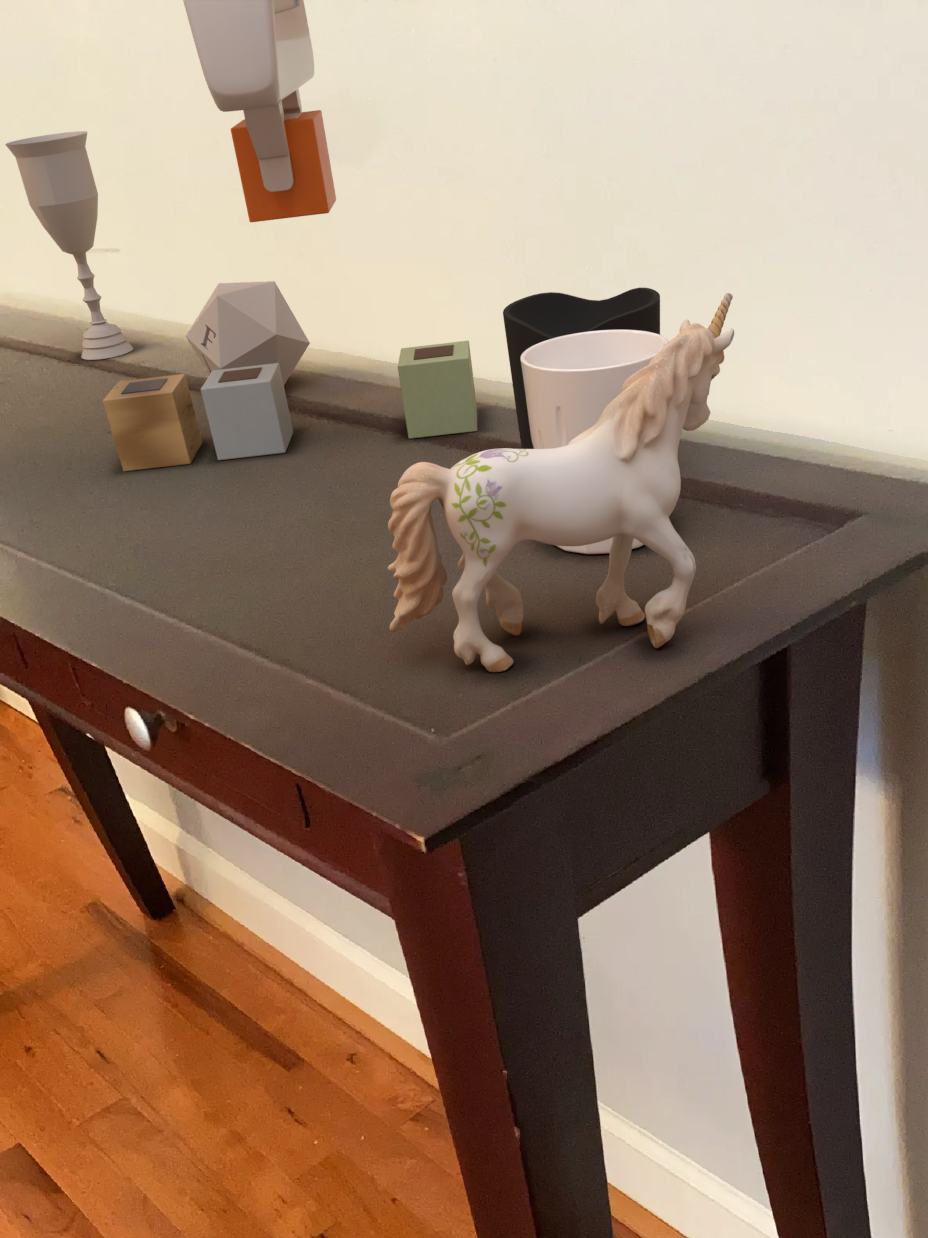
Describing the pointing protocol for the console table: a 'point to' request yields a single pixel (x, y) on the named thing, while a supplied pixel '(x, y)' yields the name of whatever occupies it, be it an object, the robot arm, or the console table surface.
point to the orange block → (309, 166)
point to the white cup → (581, 387)
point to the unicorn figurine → (564, 502)
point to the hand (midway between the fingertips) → (287, 182)
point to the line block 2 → (247, 411)
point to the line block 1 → (153, 422)
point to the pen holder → (569, 328)
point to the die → (247, 329)
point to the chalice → (69, 219)
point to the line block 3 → (438, 389)
